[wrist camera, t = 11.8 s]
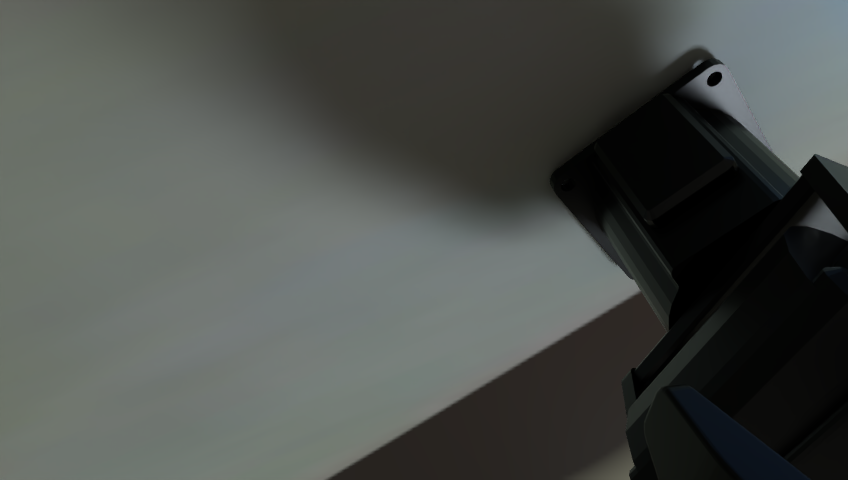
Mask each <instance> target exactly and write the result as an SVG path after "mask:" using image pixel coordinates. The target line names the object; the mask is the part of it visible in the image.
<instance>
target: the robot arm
mask: <svg viewBox="0 0 848 480" xmlns="http://www.w3.org/2000/svg"><path fill="white" fill-rule="evenodd" d="M714 72H716V73H715V76H714V77H713V78H712V79H710V80H708V81H707V78H708V77H709V75H710V74H711V73H714ZM800 172H801V174H802V176H801V177H799V176H798V175H796V174H795V173H794V172H793V171H792V170H791V169H790V168H789V167H788V166H787V165H786V164H784V163H783V162H782V161H781V160H780V159H779V158H778V157H777V156H776V155H775V154H774V153H773V151H772V149H771V147H770V146H769V144H768V142H767V140H766V138H765V136H764V134H763V132H762V130H761V129H760V127H759V125H758V123H757V121H756V119H755V117H754V115H753V114H752V112H751V110H750V108H749V106H748V104H747V102H746V100H745V98H744V97H743V95H742V93H741V91H740V89H739V87H738V85H737V83H736V81H735V80H734V78H733V76H732V74H731V72H730V70H729V68H728V67H727V66H726V65H724V64H723V63H722V62H721V61H720V60H717V59H708V60H706V61H704V62H702V63H701V64H700V65H698V66H697V67H696V68H694V69H693V70H691V71H690V72H689V73H687V74H686V75H685V76H683V77H682V78H681V79H679V80H678V81H677V82H675V83H674V84H672V85H671V86H670V87H668V88H667V89H666V90H664V91H663V92H662V93H660V94H659V95H657V96H656V97H655V98H653V99H652V100H651V101H649V102H648V103H647V104H645V105H644V106H643V107H641V108H640V109H638V110H637V111H636V112H634V113H633V114H632V115H630V116H629V117H628V118H626V119H625V120H624V121H622V122H621V123H619V124H618V125H617V126H615V127H614V128H613V129H611V130H610V131H609V132H607V133H606V134H604V135H603V136H602V137H600V138H599V139H598V140H596V141H595V142H594V143H592V144H591V145H590V146H588V147H587V148H585V149H584V150H583V151H581V152H580V153H579V154H577V155H576V156H575V157H573V158H572V159H570V160H569V161H568V162H566V163H565V164H564V165H562V166H561V167H560V168H558V169H557V170H556V171H555V172H554V173H553V174H552V176H551V178H550V184H551V186H552V188H553V190H554V192H555V193H556V195H557V196H558V197H559V198H560V199H561V200H562V201H563V203H564V204H565V205H566V206H567V207H568V208H569V210H570V211H571V212H572V213H573V214H574V215H575V216H576V218H577V219H578V220H579V221H580V222H581V223H582V224H583V226H584V227H585V228H586V229H587V230H588V231H589V232H590V234H591V235H592V236H593V237H594V238H595V239H596V240H597V242H598V243H599V244H600V245H601V246H602V247H603V248H604V250H605V251H606V252H607V253H608V254H609V255H610V256H611V258H612V259H613V260H614V261H615V262H616V263H617V264H618V266H619V267H620V268H621V269H622V270H623V271H624V272H625V274H626V275H627V276H628V277H629V278H631V279H633V280H635V282H636V284H637V285H638V287H639V288H640V290H641V292H642V293H643V295H644V296H645V298H646V299H647V301H648V303H649V304H650V306H651V307H652V309H653V311H654V312H655V314H656V315H657V317H658V319H659V320H660V322H661V323H662V325H663V326H664V328H665V330H666V331H667V333H666V334H665V336H664V337H663V338H662V339H661V340H660V341H659V343H658V344H657V345H656V346H655V347H654V348H653V350H652V351H651V352H650V353H649V354H648V355H647V357H646V358H645V359H644V360H643V361H642V362H641V364H640V365H639V366H638V367H637V368H632V369H631V370H630V371H629V373H628V374H627V375H626V376H625V377H624V378H623V380H622V388H623V395H624V401H625V408H626V414H627V425H626V435H627V439H628V443H629V447H630V451H631V455H632V459H633V462H634V465H635V466H634V467H633V468H632V469H631V470H630V473H629V476H630V479H631V480H848V167H847V166H844V165H842V164H839V163H837V162H834V161H832V160H829V159H827V158H825V157H822V156H820V155H817V154H814V155H813V157H812V158H811V159H810V160H809V161H808V163H807V164H806V165H805V166H804V167H803V168H802V170H801V171H800ZM566 179H571V180H570V181H569V182H568V183H567V184H565V185H561V184H562V183H563V181H564V180H566Z"/></svg>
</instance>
